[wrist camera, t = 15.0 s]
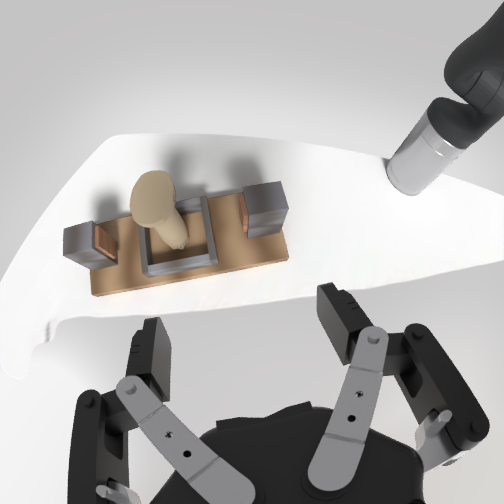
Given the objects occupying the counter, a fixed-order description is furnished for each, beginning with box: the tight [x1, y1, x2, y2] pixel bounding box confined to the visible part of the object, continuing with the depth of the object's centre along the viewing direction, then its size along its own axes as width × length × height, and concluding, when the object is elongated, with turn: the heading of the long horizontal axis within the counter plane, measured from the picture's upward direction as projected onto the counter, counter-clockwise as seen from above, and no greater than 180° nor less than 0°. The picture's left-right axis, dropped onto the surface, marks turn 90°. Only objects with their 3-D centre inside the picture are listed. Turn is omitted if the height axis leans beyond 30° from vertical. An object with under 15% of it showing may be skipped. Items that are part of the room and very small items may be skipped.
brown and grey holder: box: [63, 181, 289, 297], centre depth 39 cm, size 32×12×11 cm, turn 102°
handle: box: [130, 171, 189, 250], centre depth 35 cm, size 5×6×15 cm
